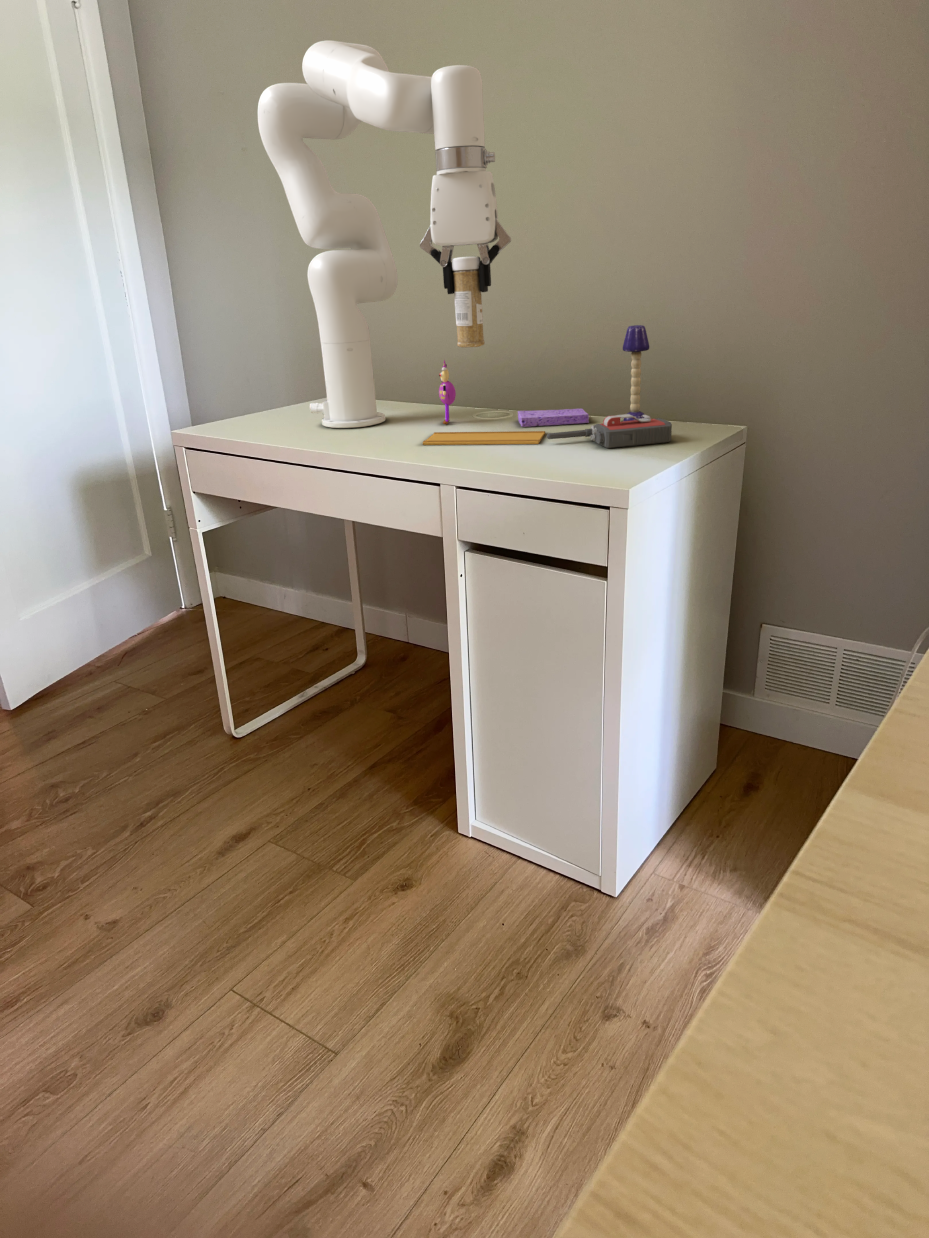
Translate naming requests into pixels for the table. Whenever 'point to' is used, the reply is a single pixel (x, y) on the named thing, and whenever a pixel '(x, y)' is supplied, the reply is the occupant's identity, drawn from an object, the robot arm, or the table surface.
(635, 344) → the toy lamp
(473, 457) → the table surface
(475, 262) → the brown spice jar
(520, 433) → the wooden board
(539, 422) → the sponge
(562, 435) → the walkie-talkie
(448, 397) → the purple clown figurine
